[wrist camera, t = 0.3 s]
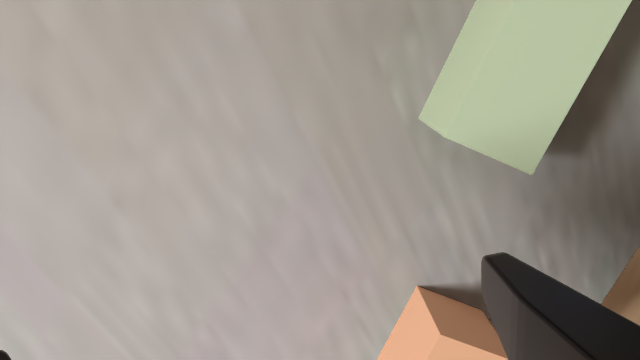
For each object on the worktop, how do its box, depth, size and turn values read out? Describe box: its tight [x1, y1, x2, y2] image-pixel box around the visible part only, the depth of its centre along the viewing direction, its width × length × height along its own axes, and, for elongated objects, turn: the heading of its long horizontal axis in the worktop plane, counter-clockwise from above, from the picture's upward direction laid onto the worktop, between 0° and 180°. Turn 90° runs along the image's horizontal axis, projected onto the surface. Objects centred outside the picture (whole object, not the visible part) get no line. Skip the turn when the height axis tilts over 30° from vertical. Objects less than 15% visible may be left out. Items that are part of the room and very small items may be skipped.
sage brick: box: [418, 0, 632, 175], centre depth 20 cm, size 8×4×4 cm, turn 157°
